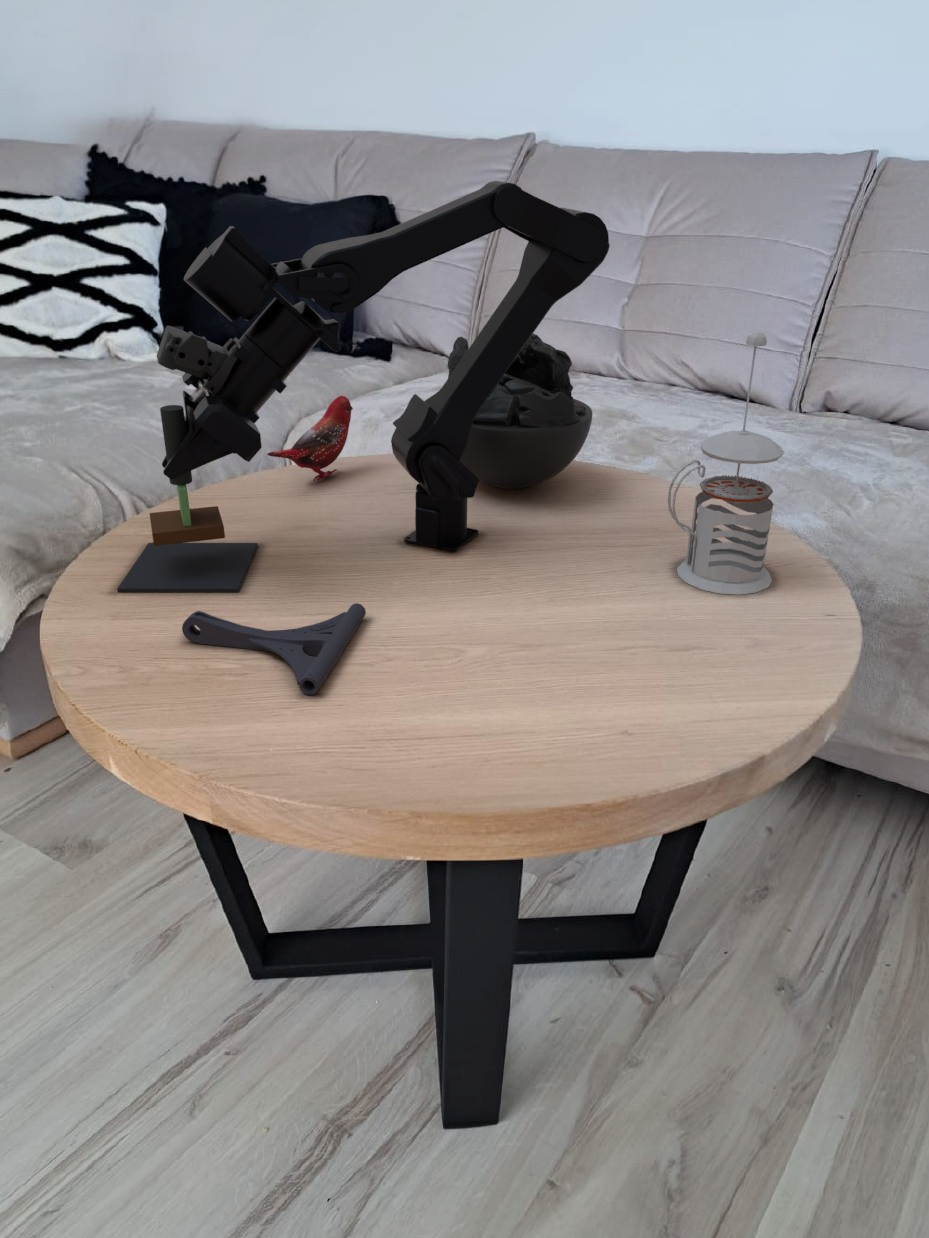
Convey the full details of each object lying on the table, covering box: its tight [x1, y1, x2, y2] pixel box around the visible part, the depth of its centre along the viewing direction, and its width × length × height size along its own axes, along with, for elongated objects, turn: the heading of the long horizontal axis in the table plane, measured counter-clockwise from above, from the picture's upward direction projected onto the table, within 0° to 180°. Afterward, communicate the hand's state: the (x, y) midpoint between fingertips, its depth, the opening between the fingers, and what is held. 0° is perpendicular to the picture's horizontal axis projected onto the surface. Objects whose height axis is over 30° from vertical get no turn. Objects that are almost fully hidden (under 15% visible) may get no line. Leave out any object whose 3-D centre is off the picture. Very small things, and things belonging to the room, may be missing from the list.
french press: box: [667, 331, 785, 596], centre depth 99 cm, size 10×12×25 cm
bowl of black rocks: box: [447, 332, 594, 489], centre depth 126 cm, size 20×20×19 cm
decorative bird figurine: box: [266, 395, 354, 482], centre depth 127 cm, size 3×18×10 cm, turn 150°
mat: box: [116, 542, 259, 593], centre depth 105 cm, size 12×12×1 cm
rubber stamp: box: [149, 404, 226, 546], centre depth 100 cm, size 7×6×13 cm
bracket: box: [181, 602, 367, 696], centre depth 89 cm, size 14×15×3 cm
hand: (166, 472), depth 100 cm, fingers closed on rubber stamp, 2 cm apart
